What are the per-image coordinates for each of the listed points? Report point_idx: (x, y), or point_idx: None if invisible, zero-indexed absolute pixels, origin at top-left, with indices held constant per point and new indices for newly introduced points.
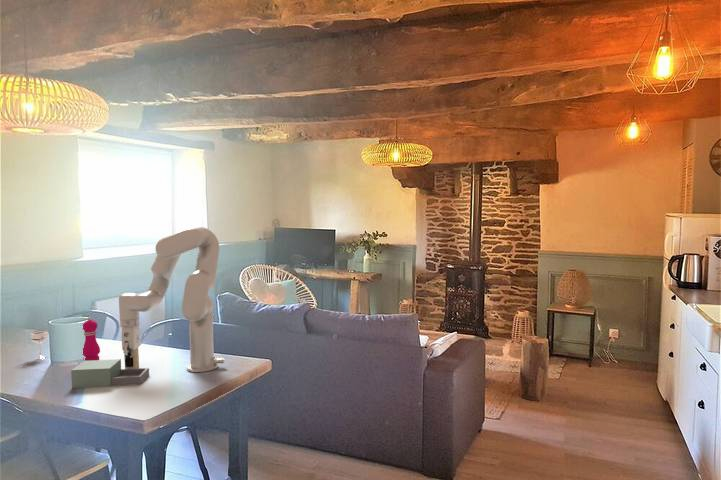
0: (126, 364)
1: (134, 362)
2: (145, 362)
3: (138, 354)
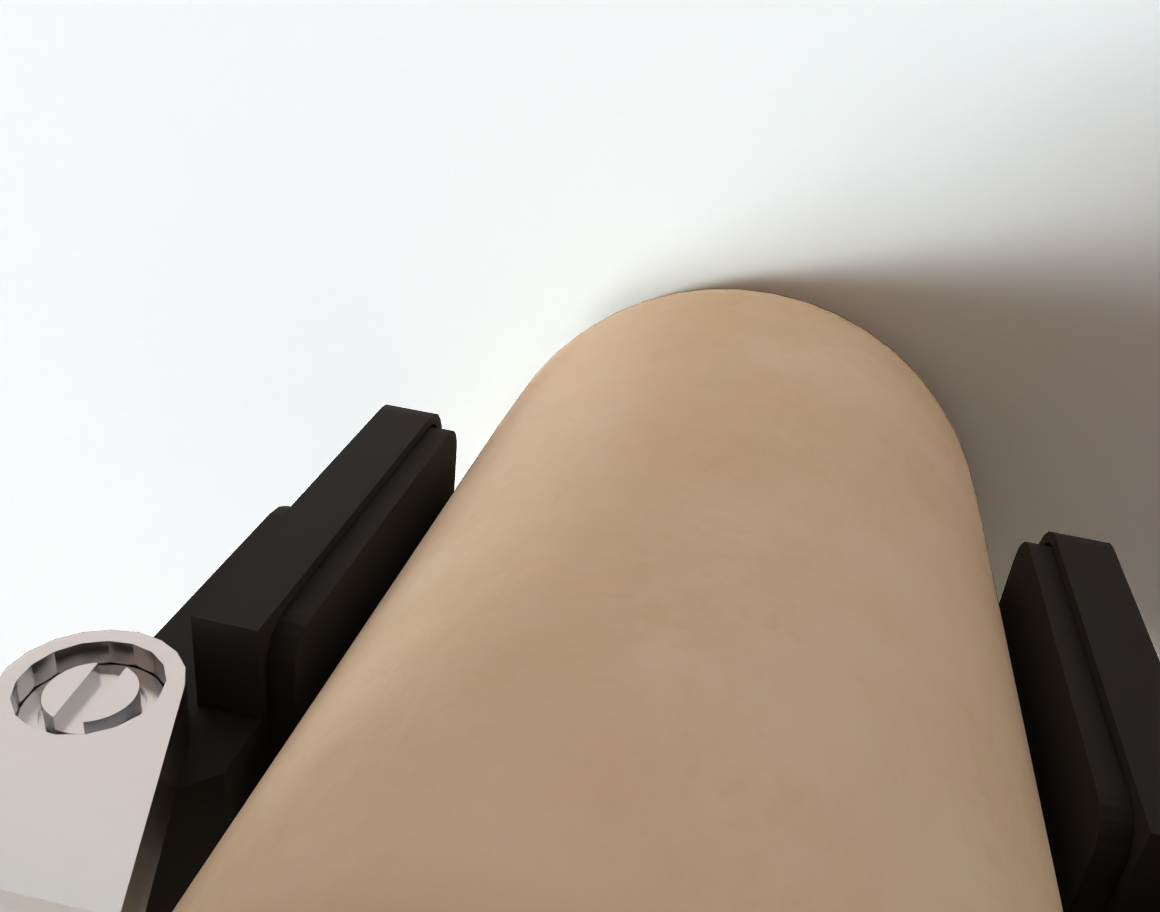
0: None
1: (981, 564)
2: (15, 150)
3: (613, 573)
